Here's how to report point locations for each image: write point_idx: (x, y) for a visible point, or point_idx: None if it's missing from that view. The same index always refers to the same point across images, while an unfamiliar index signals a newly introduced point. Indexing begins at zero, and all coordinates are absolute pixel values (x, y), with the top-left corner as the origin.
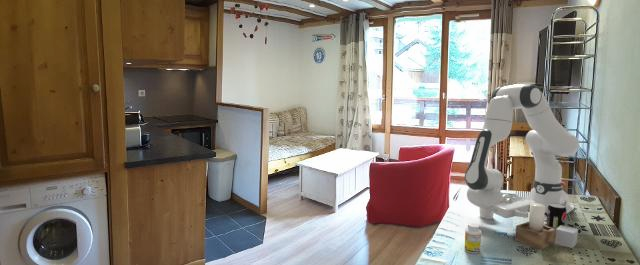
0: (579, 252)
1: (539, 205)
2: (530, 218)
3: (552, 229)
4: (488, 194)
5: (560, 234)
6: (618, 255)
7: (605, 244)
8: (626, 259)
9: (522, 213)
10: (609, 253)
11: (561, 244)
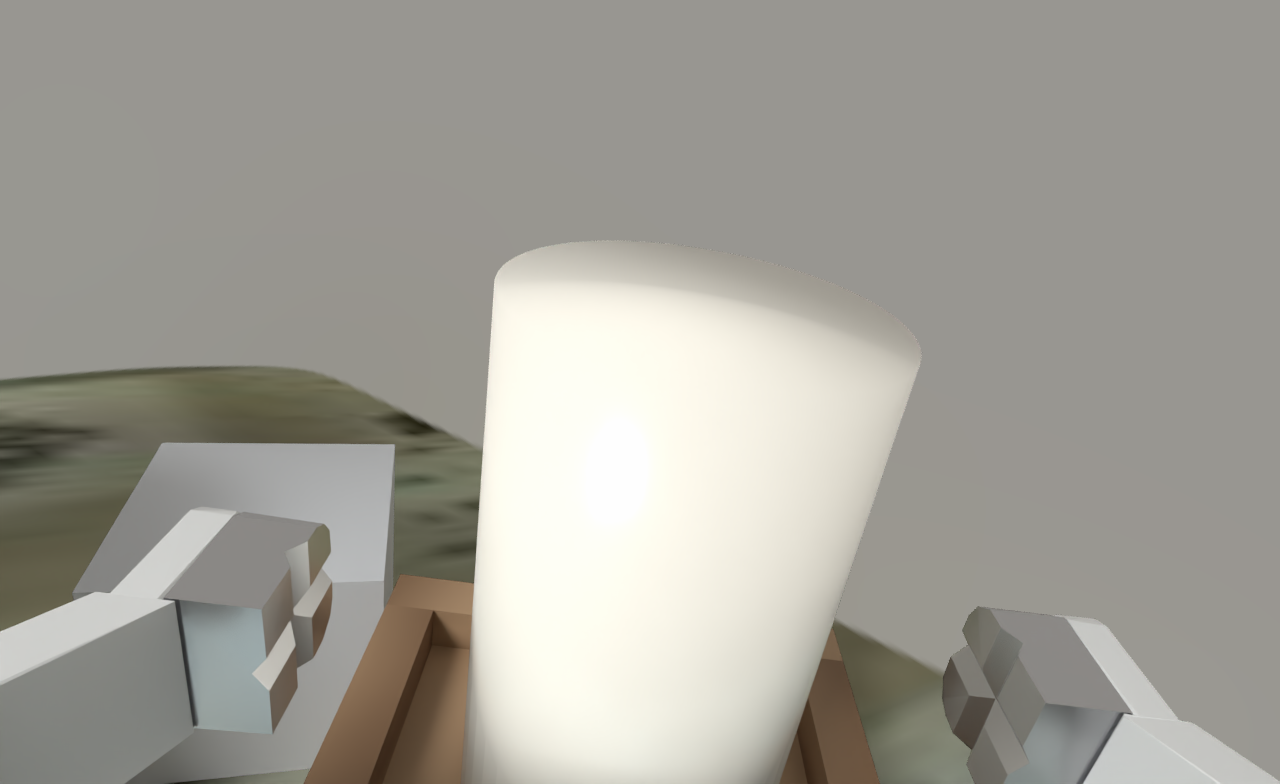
0: (465, 547)
1: (680, 283)
2: (800, 714)
3: (466, 597)
4: None
5: (386, 592)
6: (297, 407)
7: (36, 468)
8: (346, 383)
9: (1147, 717)
10: (295, 435)
11: None
